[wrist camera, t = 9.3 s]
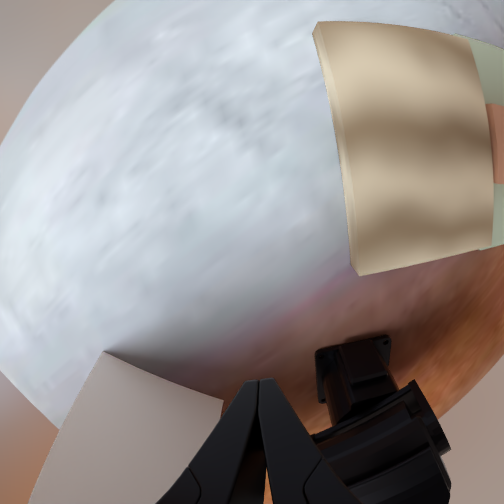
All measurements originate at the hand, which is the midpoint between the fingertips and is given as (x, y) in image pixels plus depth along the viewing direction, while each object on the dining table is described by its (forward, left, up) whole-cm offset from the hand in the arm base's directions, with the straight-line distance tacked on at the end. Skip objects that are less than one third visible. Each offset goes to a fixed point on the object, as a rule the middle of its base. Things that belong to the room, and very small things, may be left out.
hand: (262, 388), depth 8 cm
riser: (+6, -12, -12) cm, 18 cm away
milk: (-15, +14, -12) cm, 24 cm away
